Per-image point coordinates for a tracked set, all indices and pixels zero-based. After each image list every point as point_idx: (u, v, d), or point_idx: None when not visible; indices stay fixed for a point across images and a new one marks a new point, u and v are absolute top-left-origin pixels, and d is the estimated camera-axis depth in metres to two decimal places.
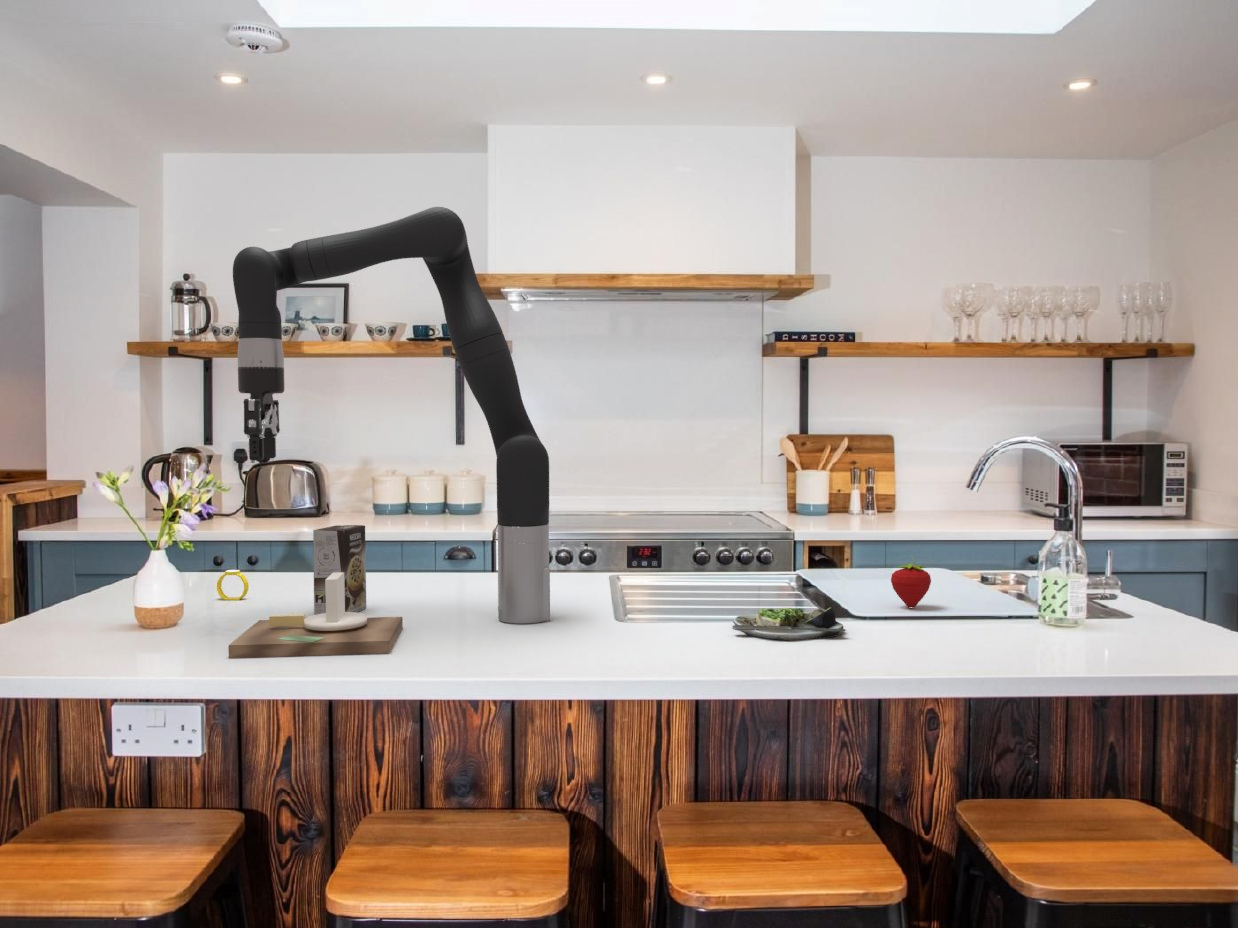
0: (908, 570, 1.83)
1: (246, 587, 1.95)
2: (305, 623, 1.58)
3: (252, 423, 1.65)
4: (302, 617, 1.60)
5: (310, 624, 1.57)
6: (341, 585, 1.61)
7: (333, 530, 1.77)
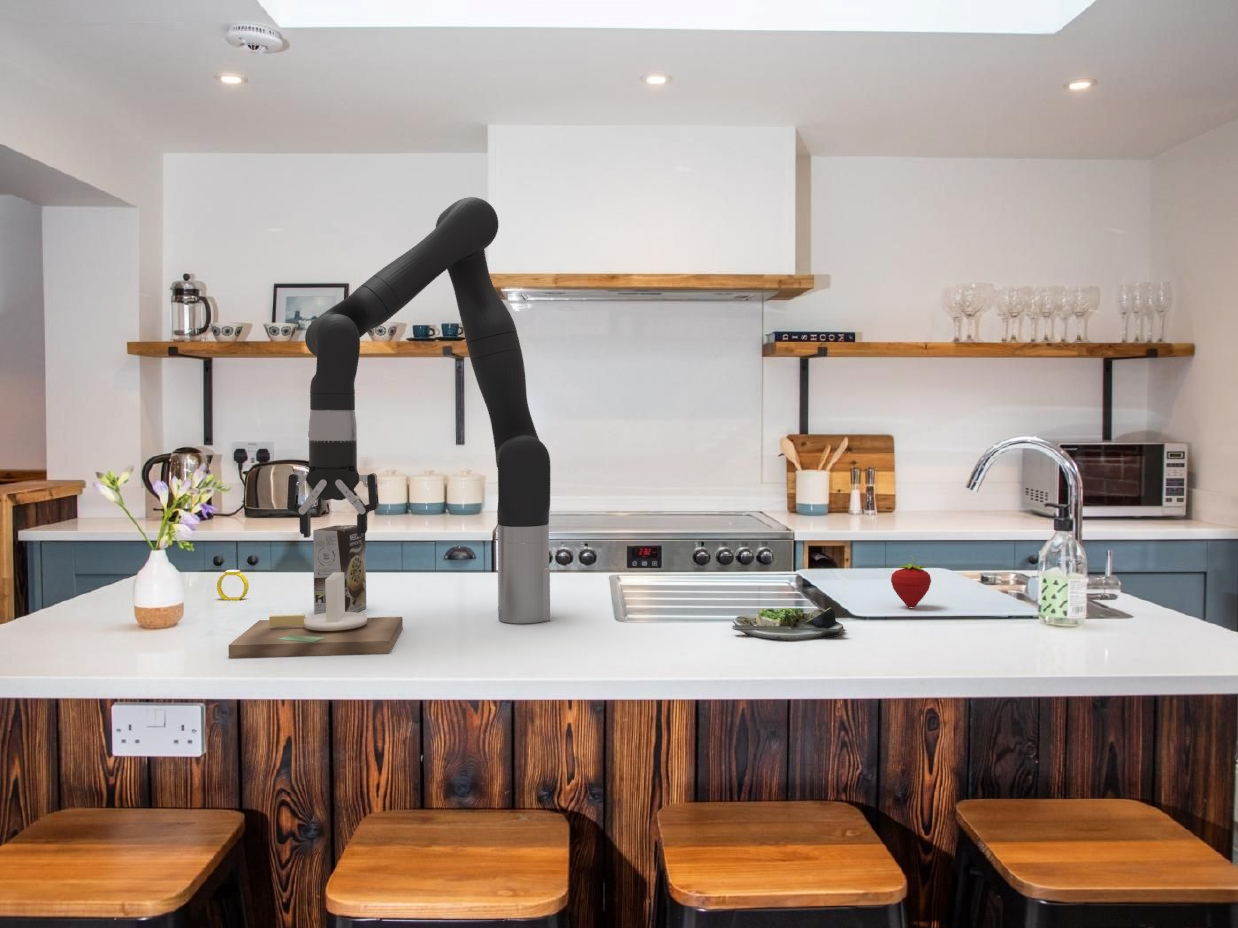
0: (908, 570, 1.83)
1: (246, 587, 1.95)
2: (305, 623, 1.58)
3: (357, 499, 1.60)
4: (302, 617, 1.60)
5: (310, 624, 1.57)
6: (341, 585, 1.61)
7: (333, 530, 1.77)
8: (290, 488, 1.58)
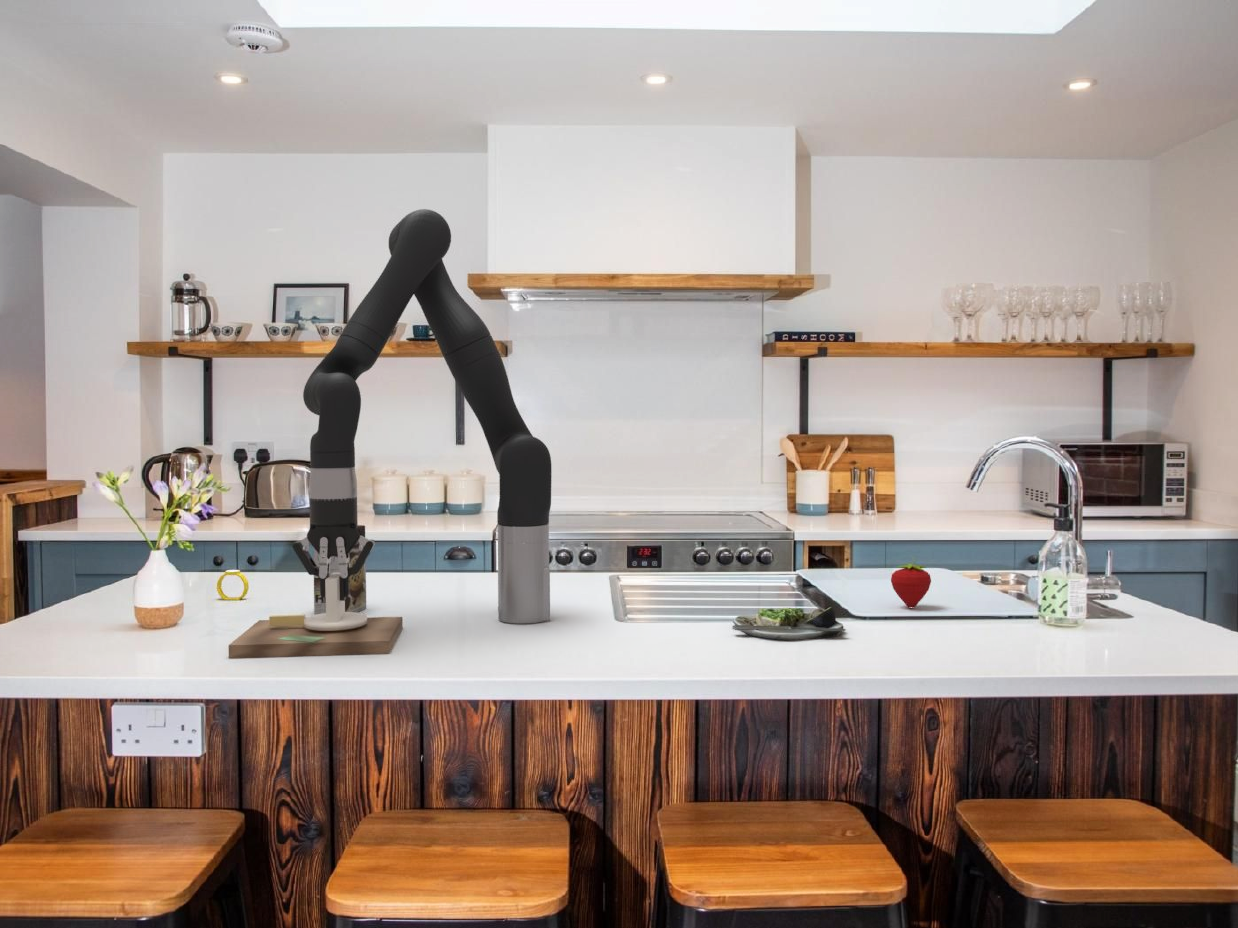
0: (908, 570, 1.83)
1: (246, 587, 1.95)
2: (305, 623, 1.58)
3: (347, 562, 1.60)
4: (302, 617, 1.60)
5: (310, 624, 1.57)
6: None
7: None
8: (300, 556, 1.58)
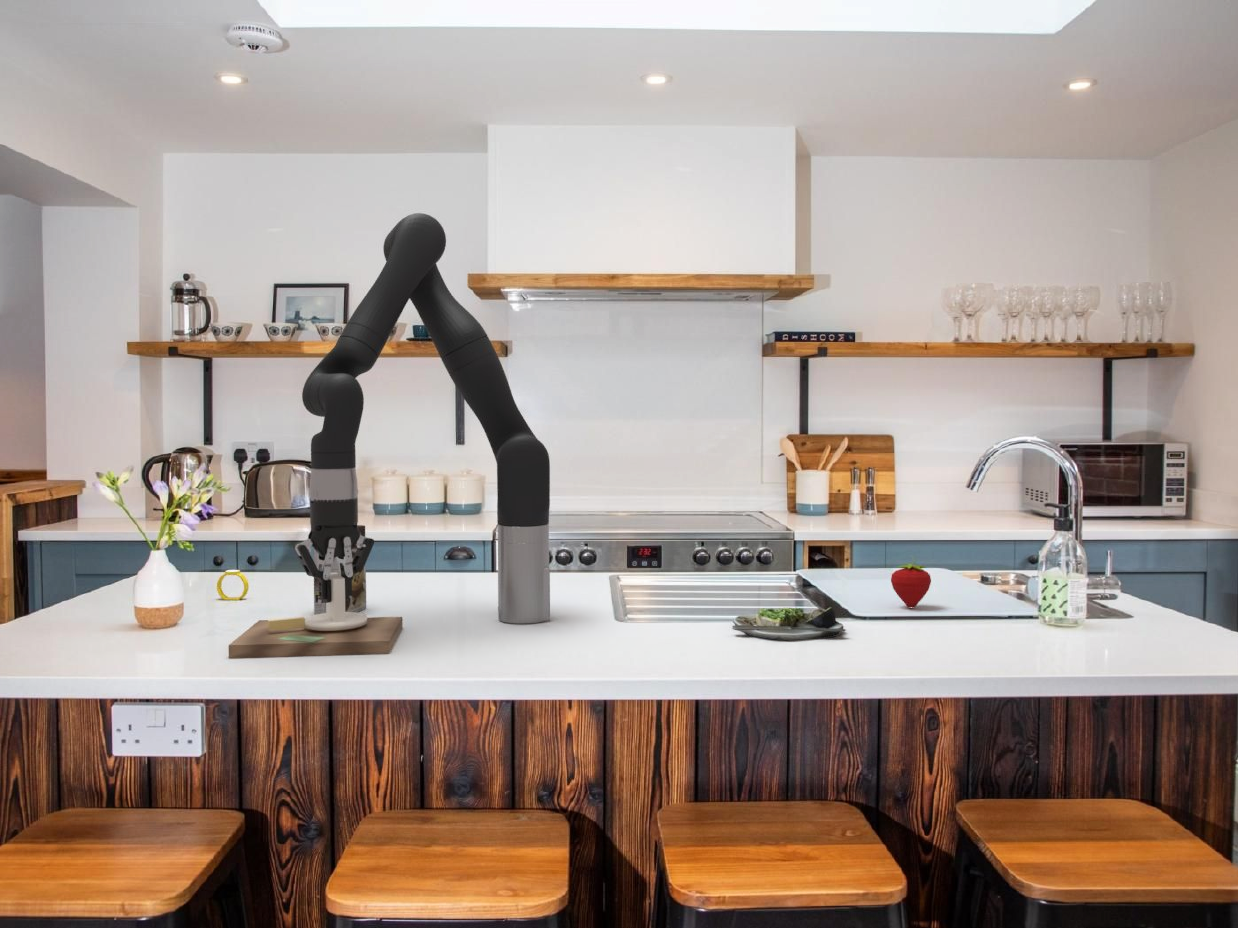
0: (908, 570, 1.83)
1: (246, 587, 1.95)
2: (310, 625, 1.57)
3: None
4: (303, 619, 1.58)
5: (319, 625, 1.56)
6: None
7: None
8: (306, 558, 1.55)
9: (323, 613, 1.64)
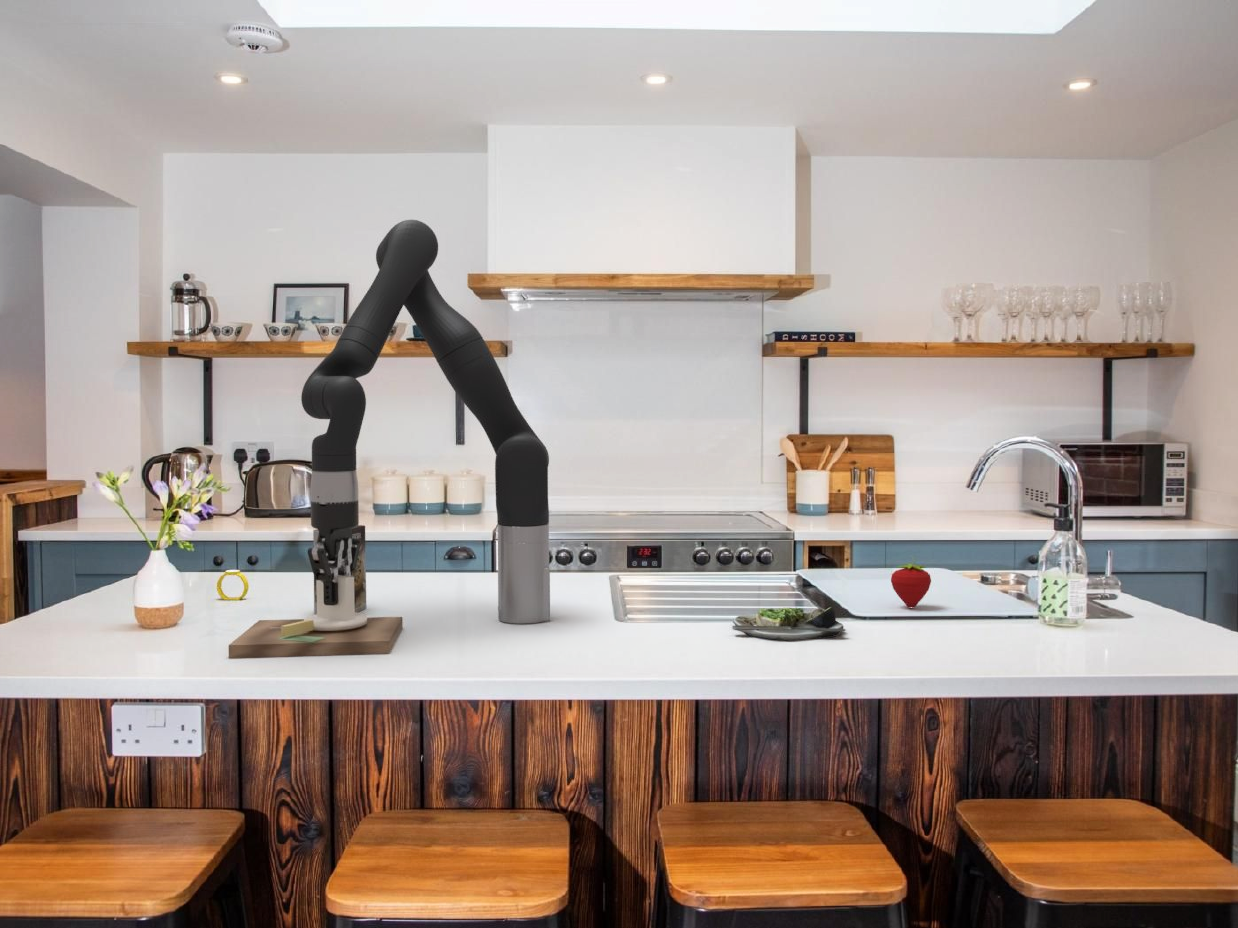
0: (908, 570, 1.83)
1: (246, 587, 1.95)
2: (324, 626, 1.56)
3: None
4: (312, 622, 1.56)
5: (335, 625, 1.56)
6: None
7: None
8: (325, 562, 1.54)
9: (311, 616, 1.62)
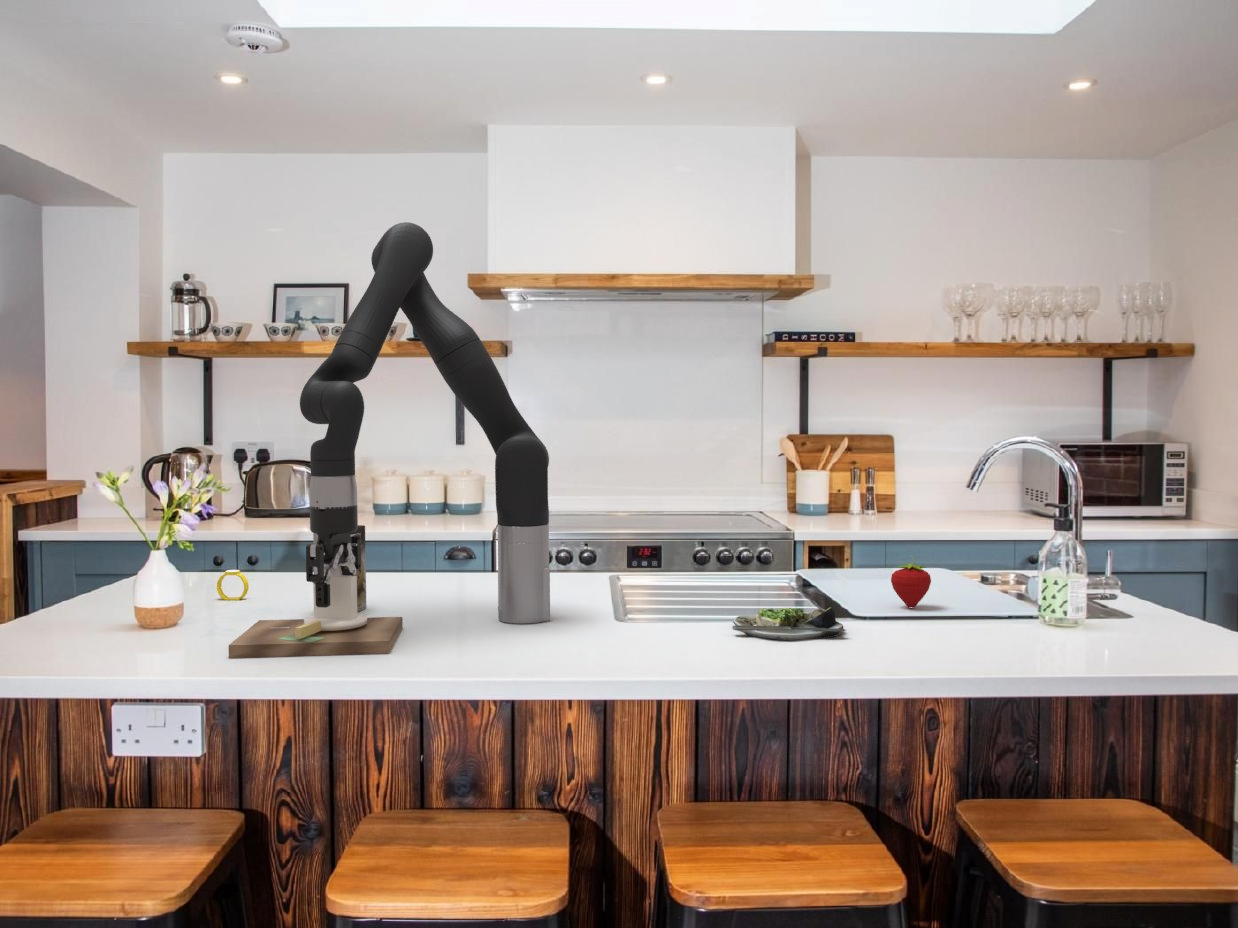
0: (908, 570, 1.83)
1: (246, 587, 1.95)
2: (333, 626, 1.56)
3: None
4: (320, 622, 1.55)
5: (344, 624, 1.56)
6: None
7: None
8: (321, 559, 1.54)
9: (307, 617, 1.61)
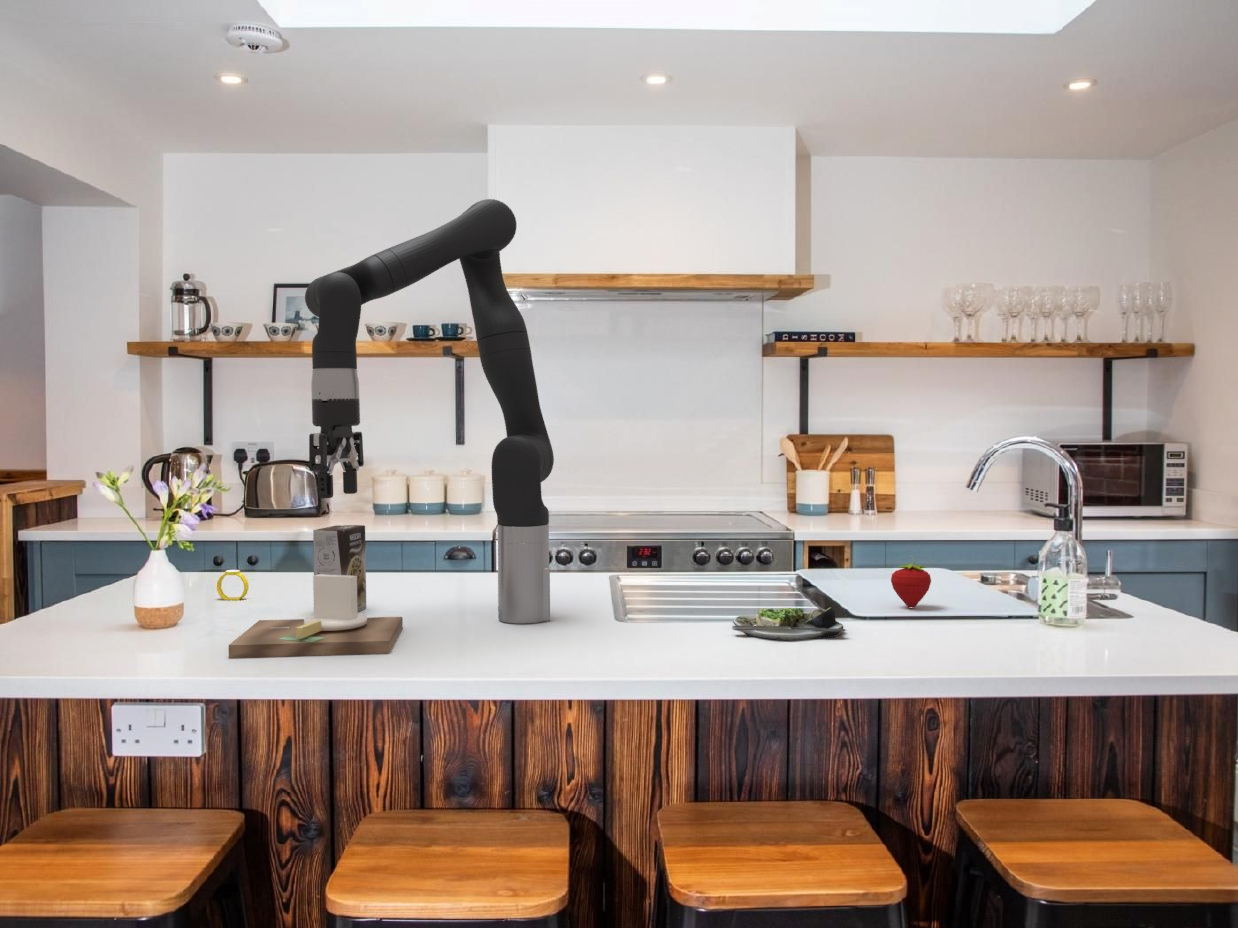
0: (908, 570, 1.83)
1: (246, 587, 1.95)
2: (334, 626, 1.56)
3: None
4: (320, 622, 1.55)
5: (345, 624, 1.56)
6: None
7: (333, 530, 1.77)
8: (324, 448, 1.53)
9: None
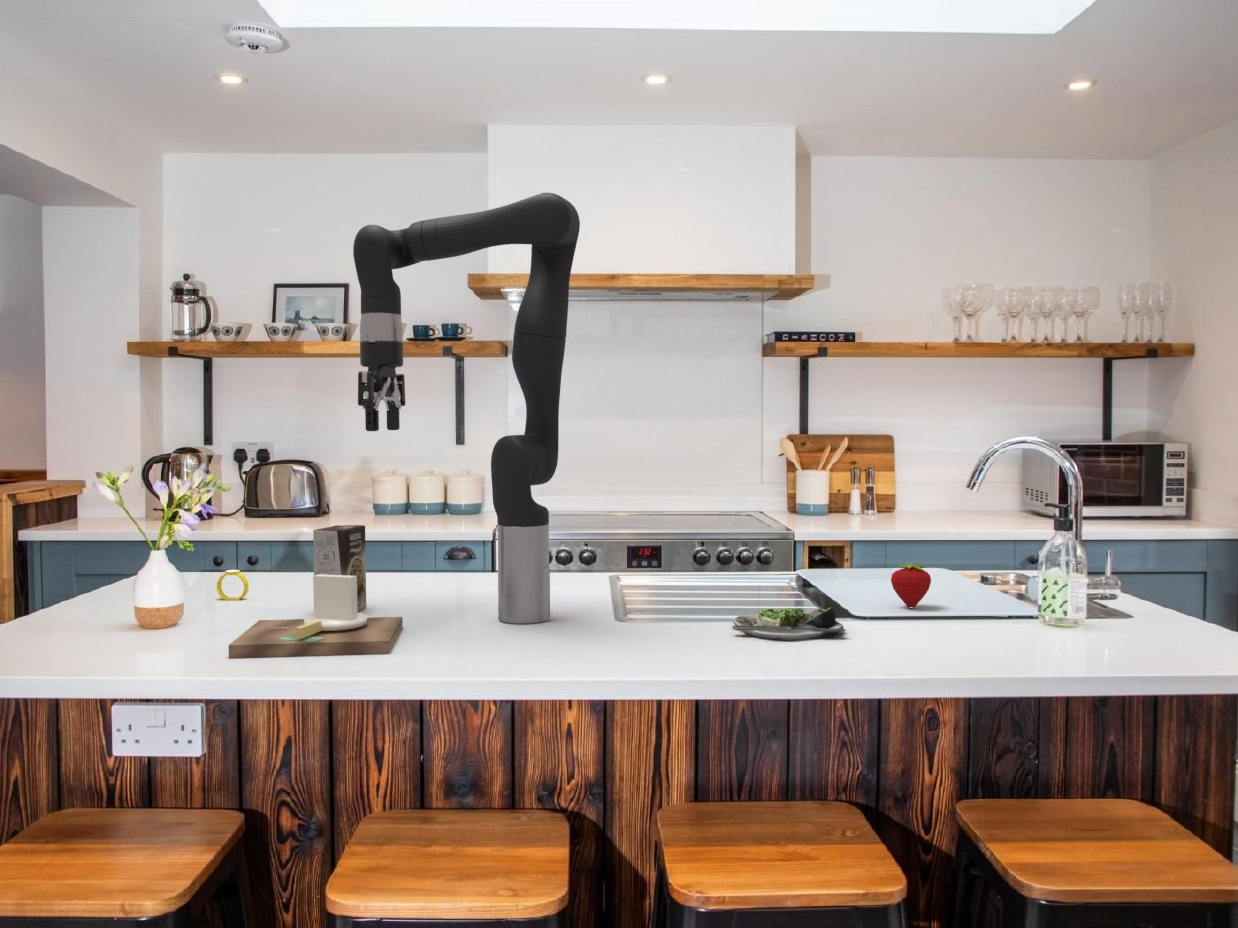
0: (908, 570, 1.83)
1: (246, 587, 1.95)
2: (334, 626, 1.56)
3: None
4: (320, 622, 1.55)
5: (345, 624, 1.56)
6: None
7: (333, 530, 1.77)
8: (371, 384, 1.69)
9: None
